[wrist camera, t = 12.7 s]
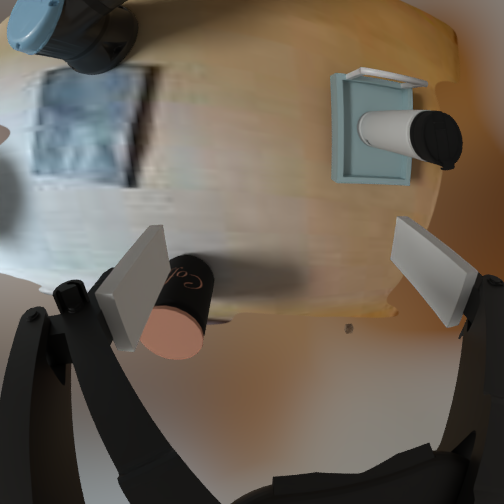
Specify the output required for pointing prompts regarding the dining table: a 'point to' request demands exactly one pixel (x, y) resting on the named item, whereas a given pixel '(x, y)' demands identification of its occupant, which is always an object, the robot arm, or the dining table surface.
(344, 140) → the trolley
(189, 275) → the coffee jar
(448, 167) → the travel mug
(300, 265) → the dining table surface
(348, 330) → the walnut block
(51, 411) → the robot arm
